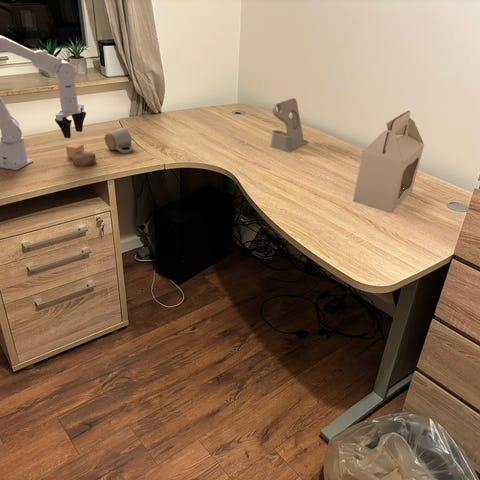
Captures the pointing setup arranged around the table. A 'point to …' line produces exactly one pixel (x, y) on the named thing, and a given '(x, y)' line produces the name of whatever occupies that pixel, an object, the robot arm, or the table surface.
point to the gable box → (390, 165)
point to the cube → (74, 149)
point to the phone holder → (288, 127)
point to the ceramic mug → (119, 140)
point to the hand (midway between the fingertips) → (73, 134)
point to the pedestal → (84, 159)
